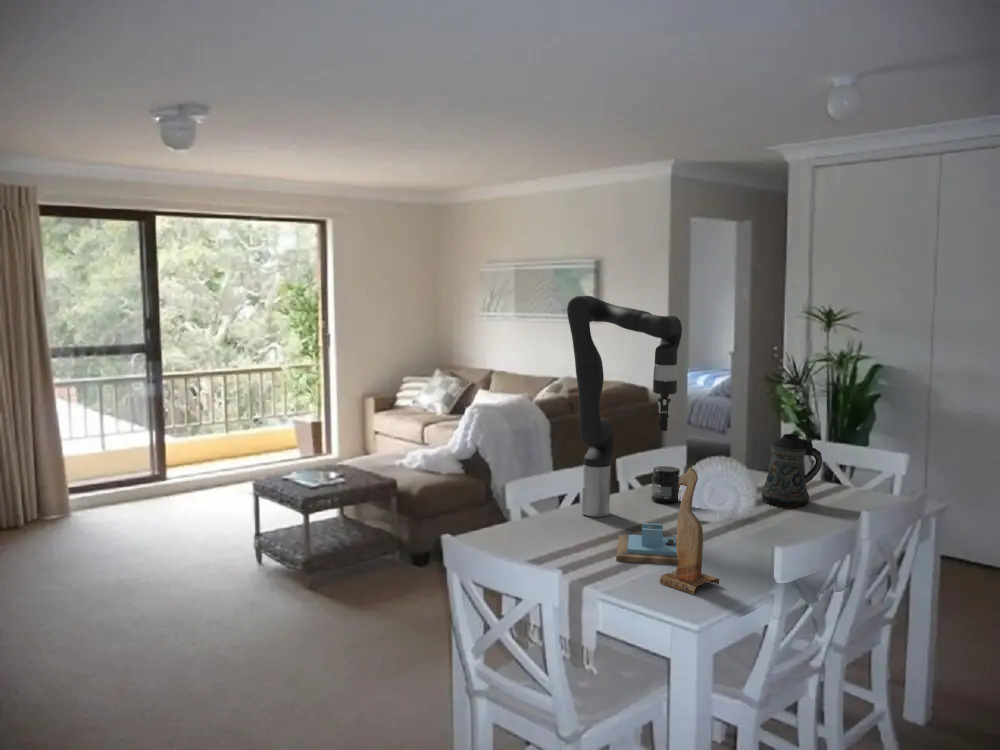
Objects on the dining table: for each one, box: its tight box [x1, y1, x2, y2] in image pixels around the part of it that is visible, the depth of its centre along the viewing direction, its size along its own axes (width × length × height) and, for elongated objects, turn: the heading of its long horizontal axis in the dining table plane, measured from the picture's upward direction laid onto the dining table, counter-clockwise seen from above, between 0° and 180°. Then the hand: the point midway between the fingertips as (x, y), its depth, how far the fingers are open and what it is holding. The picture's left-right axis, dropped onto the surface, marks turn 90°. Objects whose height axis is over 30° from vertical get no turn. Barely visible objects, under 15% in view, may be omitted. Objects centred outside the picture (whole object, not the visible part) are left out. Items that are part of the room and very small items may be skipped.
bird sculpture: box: [659, 467, 720, 595], centre depth 218 cm, size 11×12×32 cm
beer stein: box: [761, 433, 823, 509], centre depth 301 cm, size 16×19×25 cm
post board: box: [615, 526, 679, 566], centre depth 245 cm, size 20×20×8 cm
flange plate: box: [627, 522, 677, 556], centre depth 245 cm, size 14×14×6 cm
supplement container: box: [651, 465, 681, 505], centre depth 303 cm, size 10×10×12 cm
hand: (663, 428), depth 266 cm, fingers open, 8 cm apart
